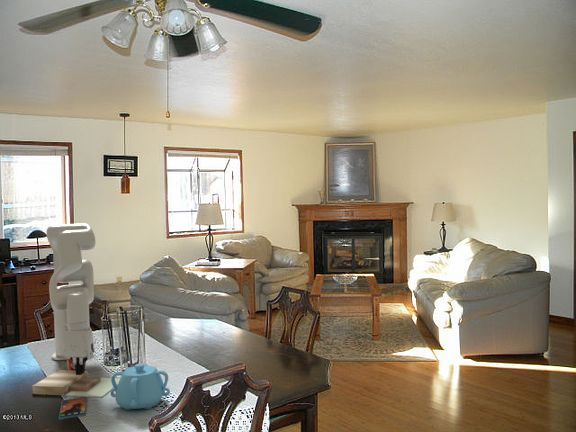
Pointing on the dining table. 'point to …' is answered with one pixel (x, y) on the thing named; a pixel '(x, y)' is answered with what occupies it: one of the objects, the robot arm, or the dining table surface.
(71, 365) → the soda can
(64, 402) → the smartphone
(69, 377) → the light wooden block
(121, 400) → the decorative pot
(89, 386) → the tile
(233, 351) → the dining table surface
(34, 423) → the dining table surface
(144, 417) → the dining table surface
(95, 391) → the mat
